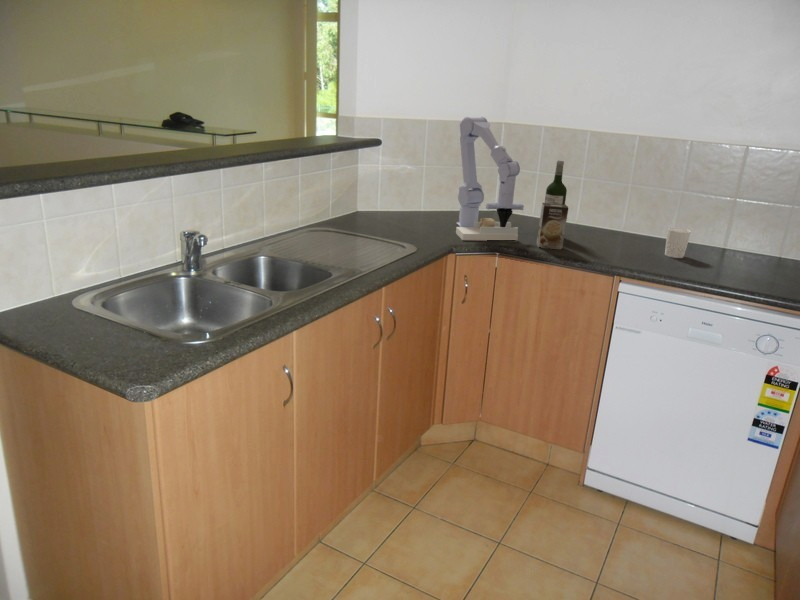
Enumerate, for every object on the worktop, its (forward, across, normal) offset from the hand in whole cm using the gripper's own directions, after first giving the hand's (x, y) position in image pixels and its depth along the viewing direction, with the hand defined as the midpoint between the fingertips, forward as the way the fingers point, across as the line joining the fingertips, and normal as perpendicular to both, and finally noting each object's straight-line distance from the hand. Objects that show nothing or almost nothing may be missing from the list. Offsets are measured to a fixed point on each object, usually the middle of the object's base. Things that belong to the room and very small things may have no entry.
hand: (502, 227), depth 250 cm
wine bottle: (+4, +22, +3) cm, 22 cm away
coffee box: (+4, +15, -14) cm, 20 cm away
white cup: (+4, +60, -25) cm, 65 cm away
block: (+1, -6, 0) cm, 6 cm away
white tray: (+4, -6, 0) cm, 7 cm away
